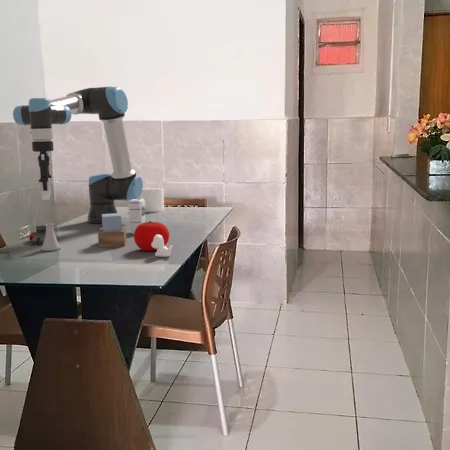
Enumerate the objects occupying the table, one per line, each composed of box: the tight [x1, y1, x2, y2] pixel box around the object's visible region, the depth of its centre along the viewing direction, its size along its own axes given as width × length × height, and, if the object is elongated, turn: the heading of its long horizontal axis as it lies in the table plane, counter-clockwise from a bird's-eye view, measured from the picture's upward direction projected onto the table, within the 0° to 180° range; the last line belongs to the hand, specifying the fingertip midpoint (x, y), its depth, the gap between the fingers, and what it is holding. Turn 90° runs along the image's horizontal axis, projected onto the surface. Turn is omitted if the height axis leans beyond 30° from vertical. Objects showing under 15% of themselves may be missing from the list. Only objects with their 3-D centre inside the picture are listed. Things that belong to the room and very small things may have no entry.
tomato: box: [133, 220, 170, 252], centre depth 209 cm, size 12×13×11 cm
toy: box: [28, 223, 46, 247], centre depth 230 cm, size 9×6×15 cm
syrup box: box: [127, 198, 147, 235], centre depth 243 cm, size 6×6×14 cm
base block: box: [97, 226, 127, 248], centre depth 221 cm, size 10×10×6 cm
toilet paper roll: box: [141, 186, 165, 213], centre depth 303 cm, size 12×12×12 cm
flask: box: [41, 223, 62, 252], centre depth 214 cm, size 7×7×10 cm
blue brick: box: [101, 212, 123, 232], centre depth 220 cm, size 7×7×6 cm
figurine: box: [151, 234, 173, 258], centre depth 198 cm, size 5×8×8 cm
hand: (46, 197), depth 211 cm, fingers open, 13 cm apart
